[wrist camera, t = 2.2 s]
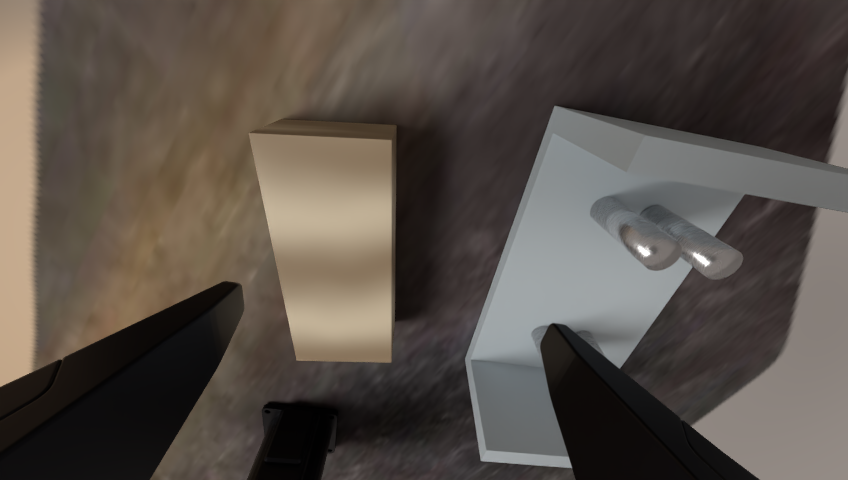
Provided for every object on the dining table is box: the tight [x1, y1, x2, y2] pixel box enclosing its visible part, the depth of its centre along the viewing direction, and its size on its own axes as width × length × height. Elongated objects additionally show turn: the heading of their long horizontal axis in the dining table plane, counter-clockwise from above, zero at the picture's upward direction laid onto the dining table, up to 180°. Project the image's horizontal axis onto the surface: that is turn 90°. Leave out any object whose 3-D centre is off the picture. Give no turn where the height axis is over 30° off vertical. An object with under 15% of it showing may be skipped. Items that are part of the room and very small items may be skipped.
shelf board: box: [249, 119, 397, 362], centre depth 19 cm, size 14×6×4 cm, turn 177°
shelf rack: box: [465, 106, 848, 468], centre depth 18 cm, size 19×12×8 cm, turn 170°
